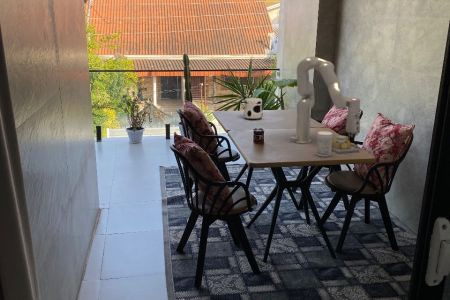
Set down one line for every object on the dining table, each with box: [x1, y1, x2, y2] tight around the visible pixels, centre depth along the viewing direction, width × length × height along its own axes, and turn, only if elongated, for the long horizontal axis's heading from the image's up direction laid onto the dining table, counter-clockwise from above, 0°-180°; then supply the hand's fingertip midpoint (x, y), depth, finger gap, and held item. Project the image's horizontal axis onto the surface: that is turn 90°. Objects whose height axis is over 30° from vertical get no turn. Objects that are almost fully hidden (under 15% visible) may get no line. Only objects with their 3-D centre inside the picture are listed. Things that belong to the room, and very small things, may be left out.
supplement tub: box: [315, 131, 333, 158], centre depth 281 cm, size 10×10×15 cm
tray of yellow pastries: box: [332, 135, 360, 155], centre depth 296 cm, size 16×20×9 cm
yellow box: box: [332, 135, 352, 149], centre depth 298 cm, size 17×12×5 cm
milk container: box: [243, 97, 264, 121], centre depth 395 cm, size 17×17×18 cm
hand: (351, 142), depth 301 cm, fingers closed
